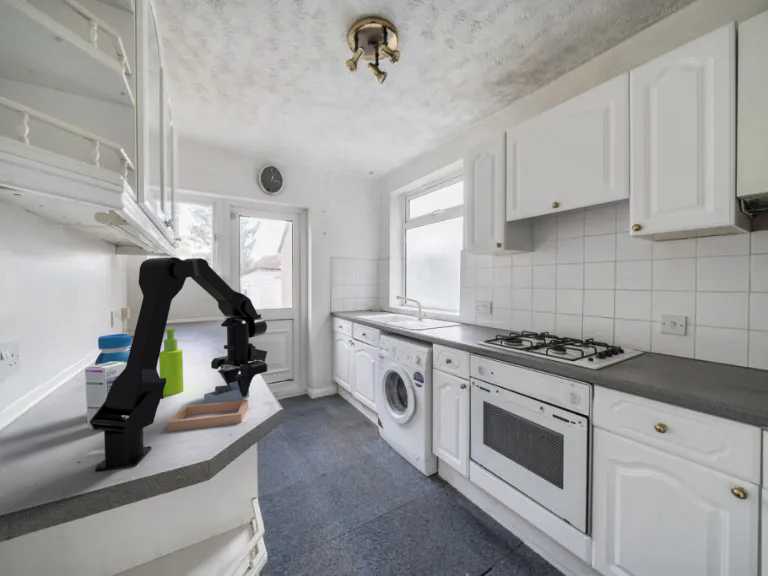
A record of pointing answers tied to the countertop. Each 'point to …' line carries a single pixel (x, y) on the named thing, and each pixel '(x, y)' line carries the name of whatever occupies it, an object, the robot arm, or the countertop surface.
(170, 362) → the soap dispenser
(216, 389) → the pot lid
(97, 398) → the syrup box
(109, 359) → the blue lidded jar
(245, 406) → the tray
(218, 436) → the countertop surface
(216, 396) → the blue open frame block
